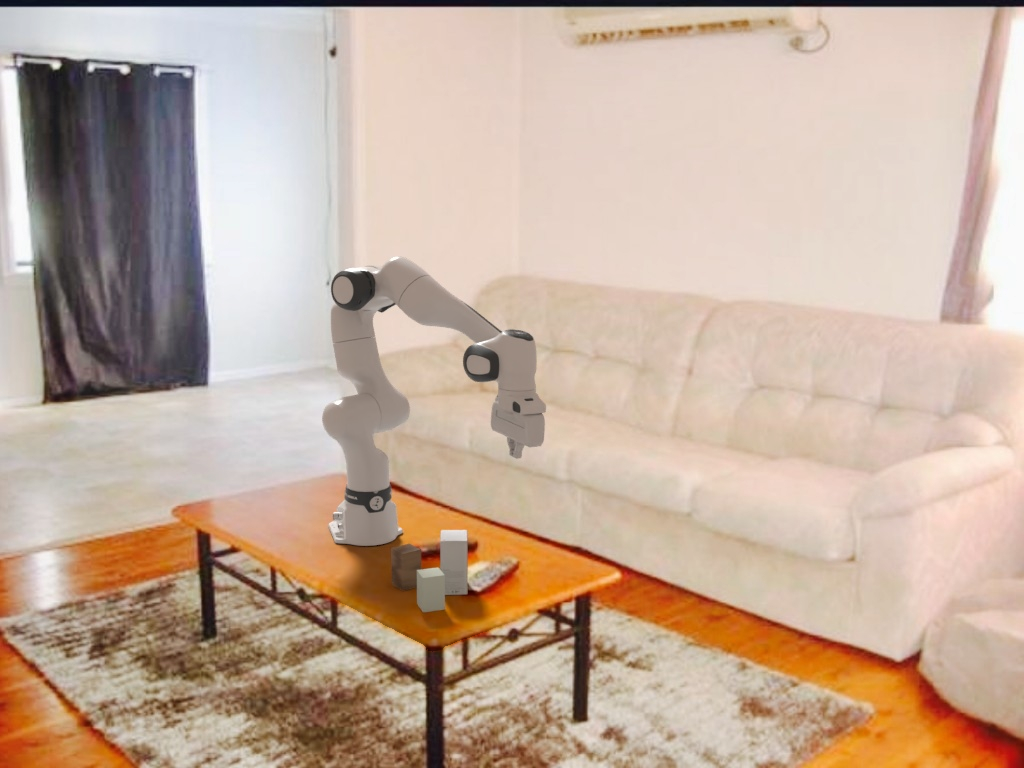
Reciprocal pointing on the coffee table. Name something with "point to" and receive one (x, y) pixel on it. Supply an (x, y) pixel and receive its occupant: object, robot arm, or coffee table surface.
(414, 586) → the walnut block
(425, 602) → the sage block
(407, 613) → the coffee table surface
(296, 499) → the coffee table surface
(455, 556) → the small box
